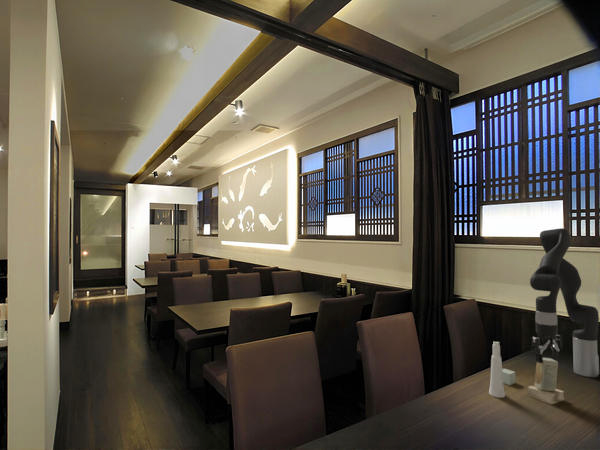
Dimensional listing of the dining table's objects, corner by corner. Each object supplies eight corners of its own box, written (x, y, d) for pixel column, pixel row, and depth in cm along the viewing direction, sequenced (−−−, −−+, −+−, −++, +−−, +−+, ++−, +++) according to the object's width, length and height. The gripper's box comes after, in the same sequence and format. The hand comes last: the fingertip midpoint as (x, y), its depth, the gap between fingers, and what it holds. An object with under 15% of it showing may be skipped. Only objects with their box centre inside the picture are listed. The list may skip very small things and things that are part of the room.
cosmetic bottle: (488, 396, 147) (488, 343, 148) (488, 390, 152) (488, 339, 153) (505, 399, 144) (504, 345, 145) (504, 393, 150) (504, 341, 150)
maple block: (540, 392, 152) (540, 383, 152) (563, 401, 144) (563, 391, 144) (527, 396, 148) (527, 386, 148) (550, 405, 140) (550, 395, 140)
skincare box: (548, 387, 147) (551, 358, 148) (555, 392, 143) (559, 362, 143) (533, 385, 147) (536, 356, 148) (540, 389, 143) (544, 359, 143)
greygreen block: (504, 379, 165) (504, 368, 165) (515, 383, 160) (515, 371, 161) (498, 381, 162) (498, 370, 162) (509, 385, 158) (509, 374, 158)
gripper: (550, 318, 152) (551, 356, 152) (525, 321, 148) (525, 360, 148) (568, 322, 145) (569, 362, 145) (541, 325, 141) (542, 366, 140)
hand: (547, 361), depth 146 cm, fingers open, 8 cm apart
